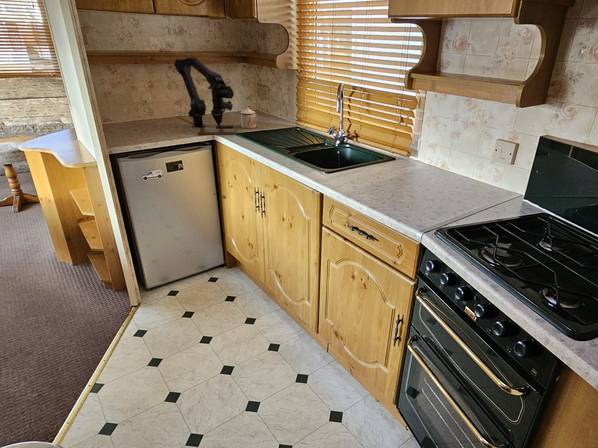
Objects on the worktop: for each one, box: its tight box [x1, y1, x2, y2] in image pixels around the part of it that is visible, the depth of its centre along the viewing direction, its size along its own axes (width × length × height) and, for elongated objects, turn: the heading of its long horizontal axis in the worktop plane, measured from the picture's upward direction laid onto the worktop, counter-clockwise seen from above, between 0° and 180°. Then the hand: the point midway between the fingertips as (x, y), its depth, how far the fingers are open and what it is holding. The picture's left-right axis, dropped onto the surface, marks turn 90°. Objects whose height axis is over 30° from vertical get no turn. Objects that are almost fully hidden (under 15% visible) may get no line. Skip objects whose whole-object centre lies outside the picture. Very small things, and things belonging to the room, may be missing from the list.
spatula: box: [203, 124, 234, 129], centre depth 243 cm, size 17×6×2 cm, turn 98°
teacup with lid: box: [240, 107, 258, 129], centre depth 248 cm, size 12×9×12 cm
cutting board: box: [197, 128, 237, 136], centre depth 233 cm, size 9×20×2 cm, turn 98°
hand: (220, 124), depth 242 cm, fingers open, 9 cm apart
